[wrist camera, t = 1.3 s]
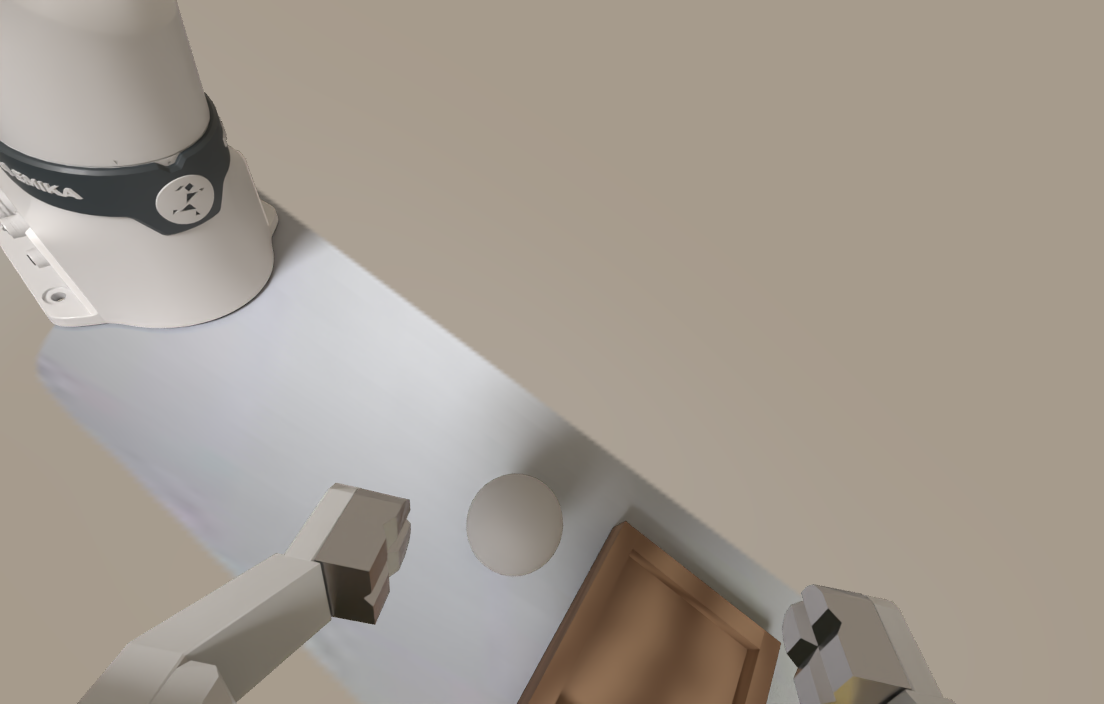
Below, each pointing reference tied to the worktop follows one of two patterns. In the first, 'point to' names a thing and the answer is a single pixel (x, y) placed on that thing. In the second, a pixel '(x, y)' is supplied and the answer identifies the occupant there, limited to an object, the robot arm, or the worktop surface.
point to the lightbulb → (514, 524)
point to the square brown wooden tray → (651, 637)
